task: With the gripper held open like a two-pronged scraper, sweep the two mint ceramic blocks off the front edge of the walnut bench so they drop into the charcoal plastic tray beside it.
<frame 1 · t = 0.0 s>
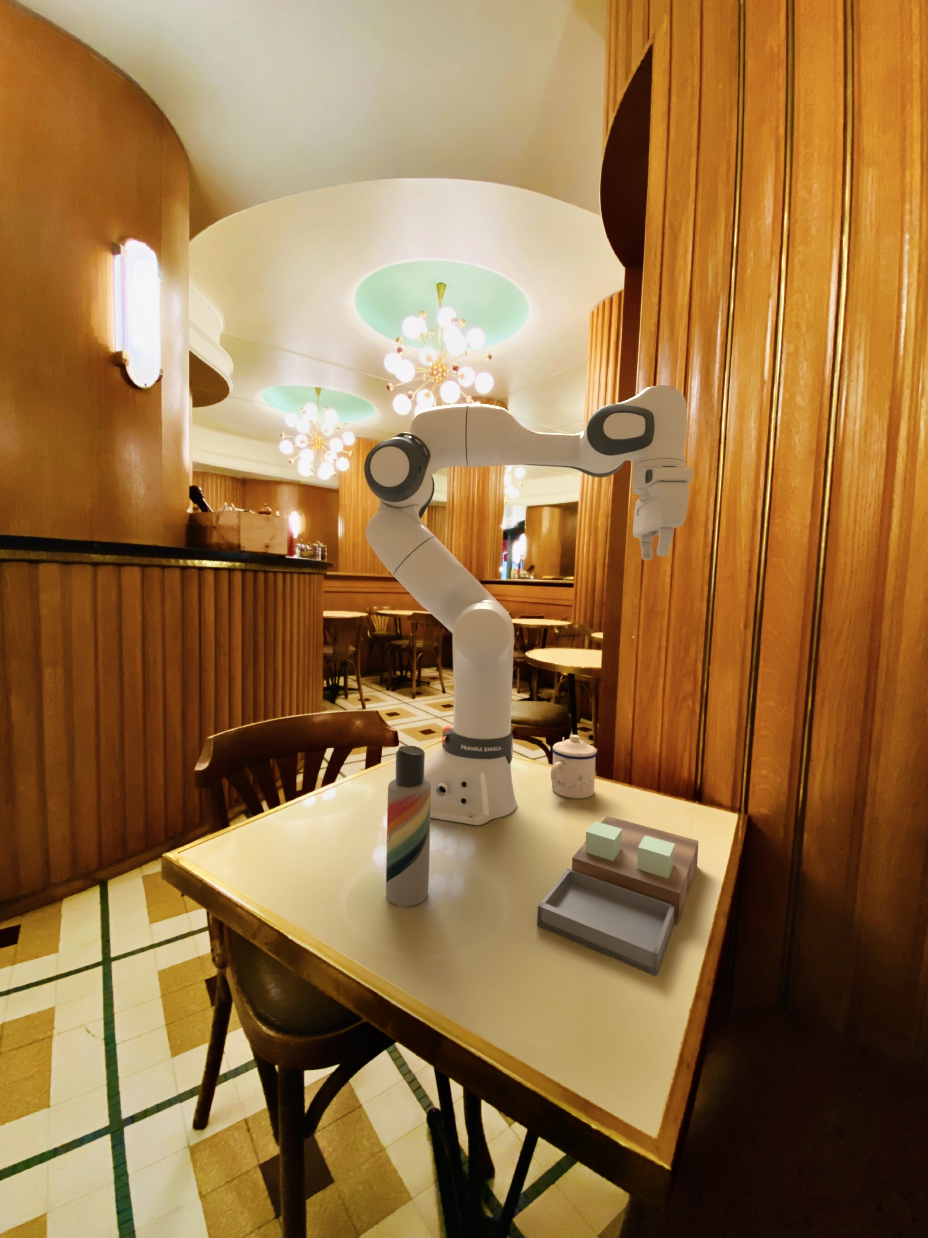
hand: (654, 557, 90), 48 cm above the table, tool pointing down, fingers open, 8 cm apart
mint block a: (655, 867, 67), point 4 cm above the table, touching walnut bench
mint block b: (603, 850, 71), point 4 cm above the table, touching walnut bench
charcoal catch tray: (605, 925, 61), on the table
teacup with lid: (568, 793, 101), on the table
lotion bottle: (407, 895, 66), on the table
walnut bench: (636, 875, 72), on the table
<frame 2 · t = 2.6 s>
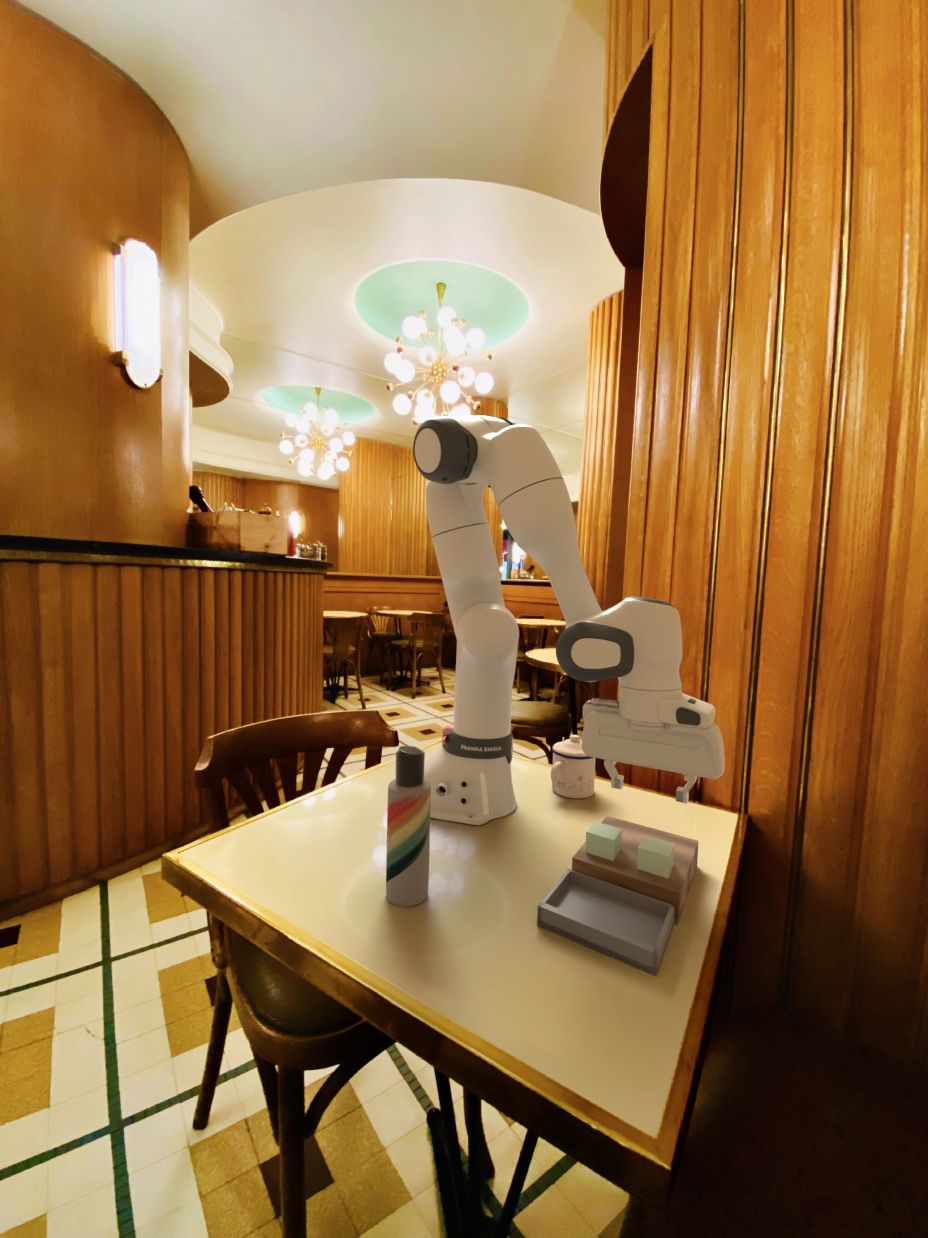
hand: (648, 794, 74), 11 cm above the table, tool pointing down, fingers open, 8 cm apart
nothing on the table moved.
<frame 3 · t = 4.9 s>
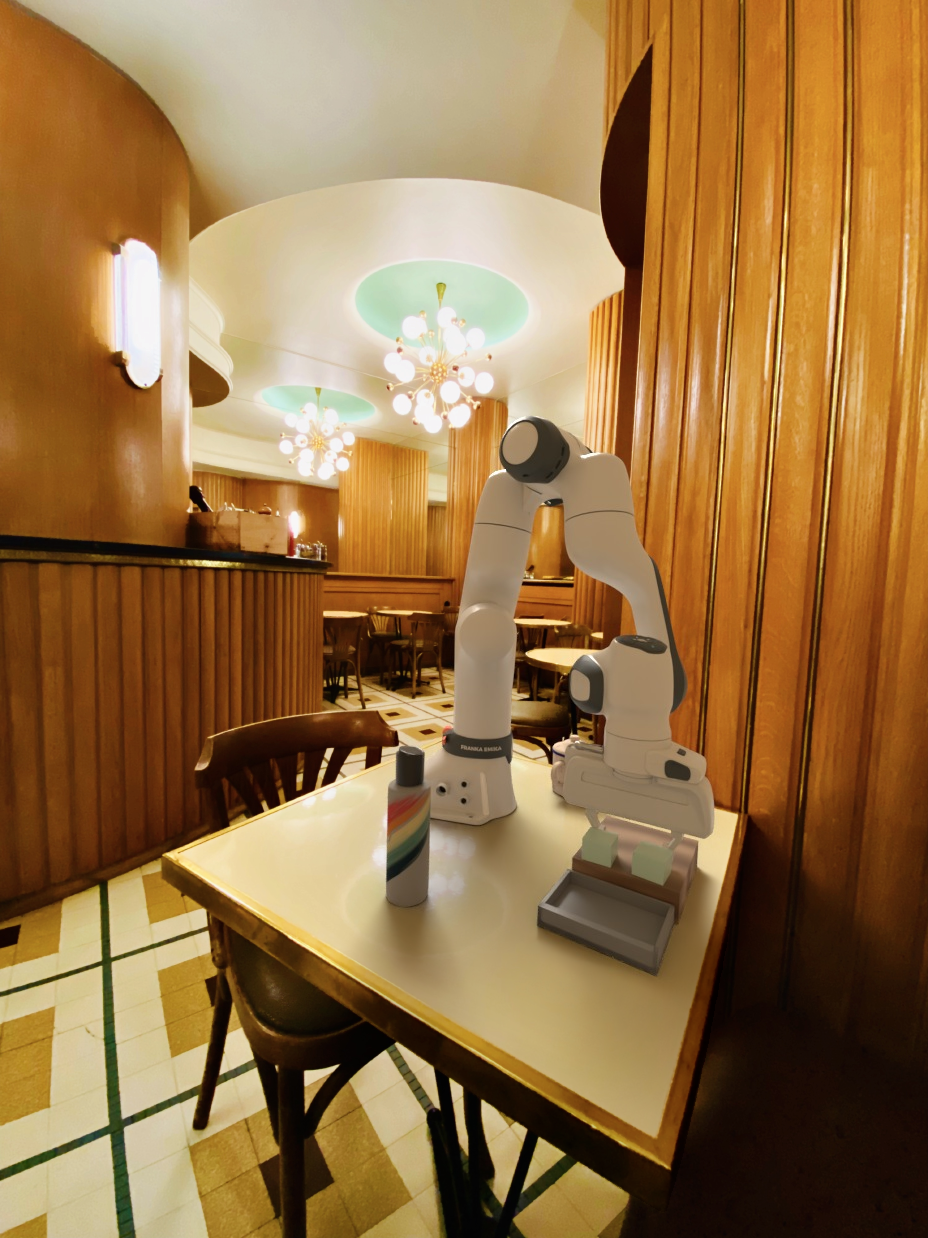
hand: (632, 848, 69), 5 cm above the table, tool pointing down, fingers open, 8 cm apart
mint block a: (651, 873, 65), point 4 cm above the table
mint block b: (599, 857, 69), point 4 cm above the table, touching walnut bench
everything else where it was.
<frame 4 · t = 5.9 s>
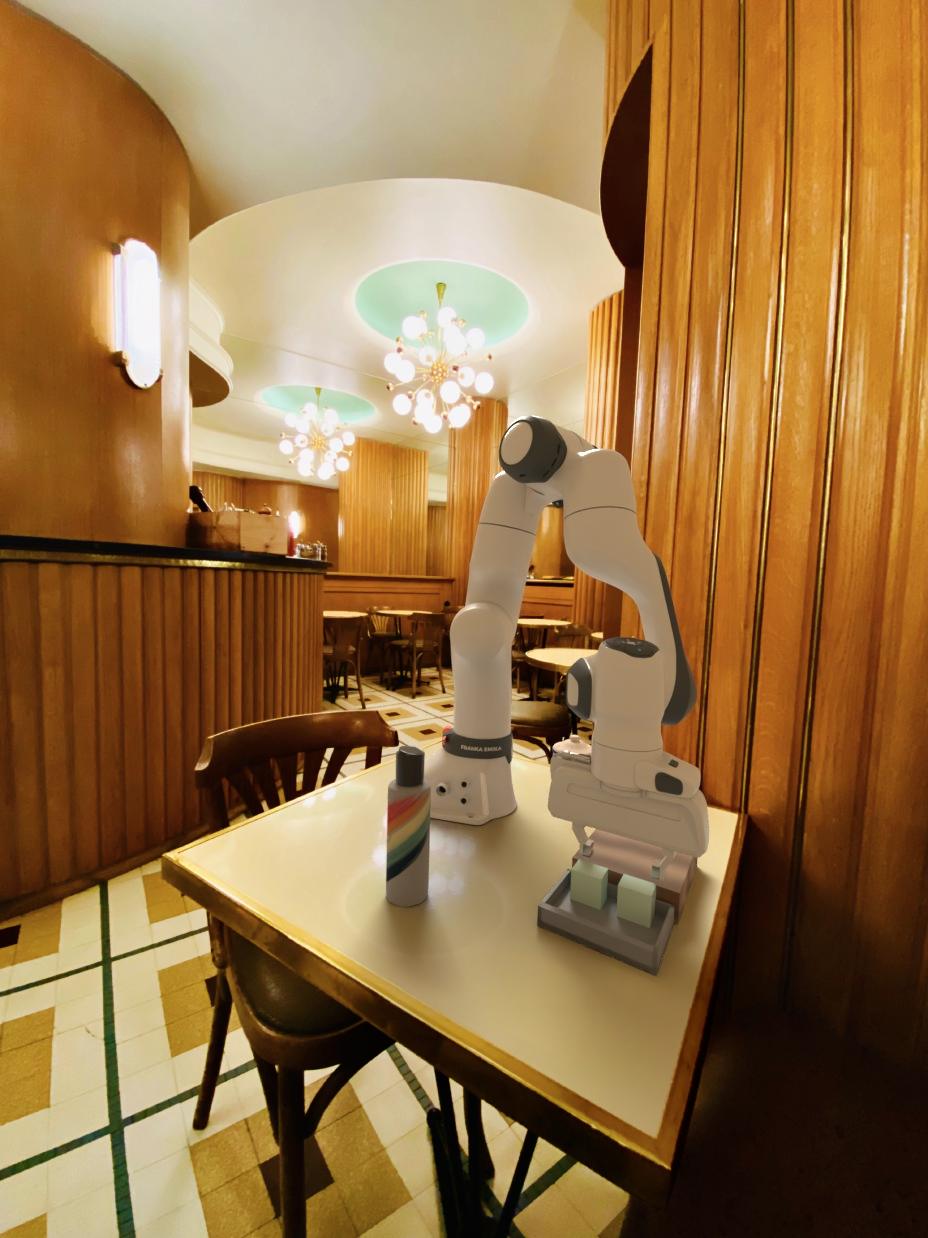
hand: (621, 865, 65), 5 cm above the table, tool pointing down, fingers open, 8 cm apart
mint block a: (639, 894, 63), point 3 cm above the table, tilted 90°, touching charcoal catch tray
mint block b: (592, 878, 66), point 3 cm above the table, tilted 90°, touching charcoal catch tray
everything else where it was.
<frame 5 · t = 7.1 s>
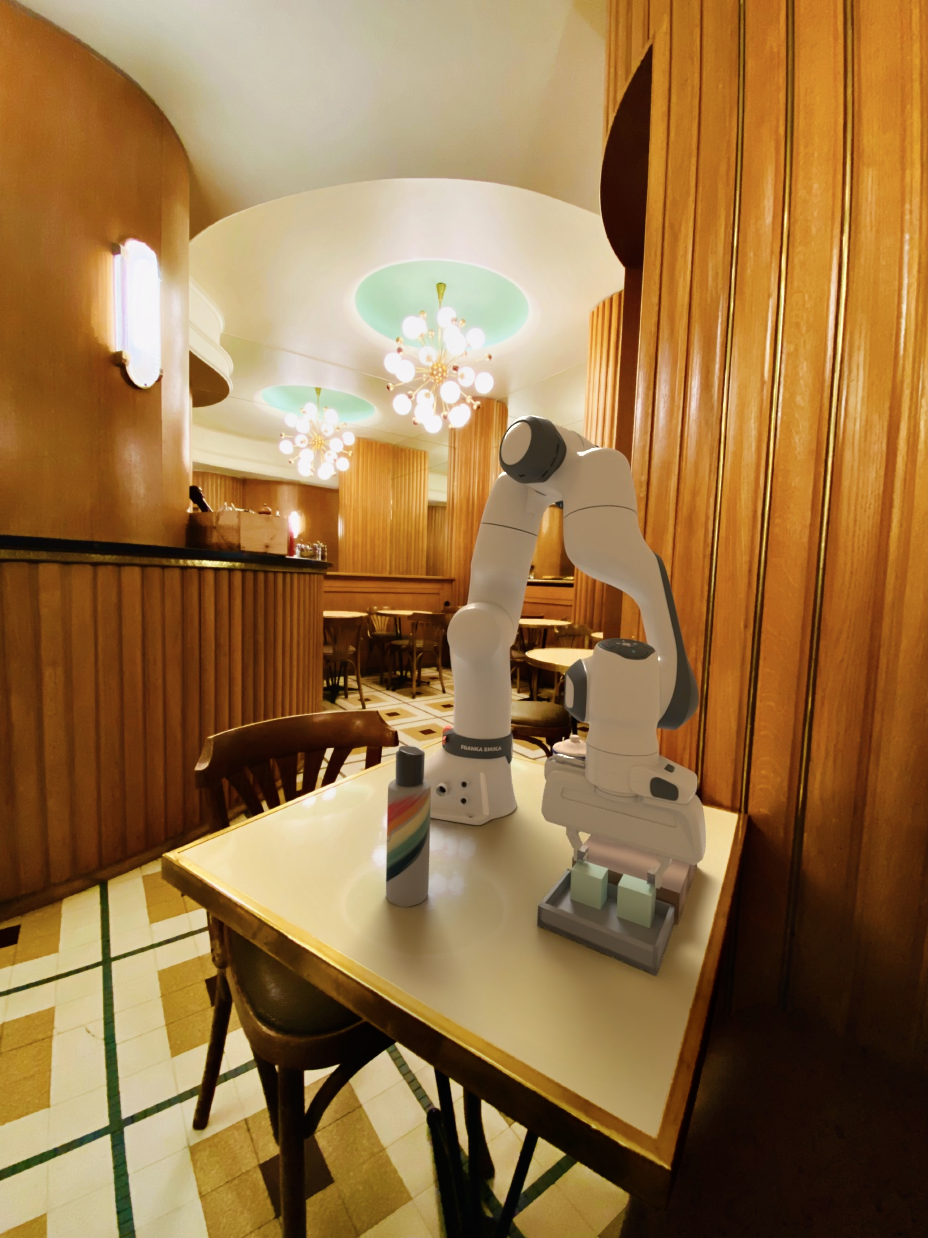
hand: (615, 872, 63), 5 cm above the table, tool pointing down, fingers open, 8 cm apart
nothing on the table moved.
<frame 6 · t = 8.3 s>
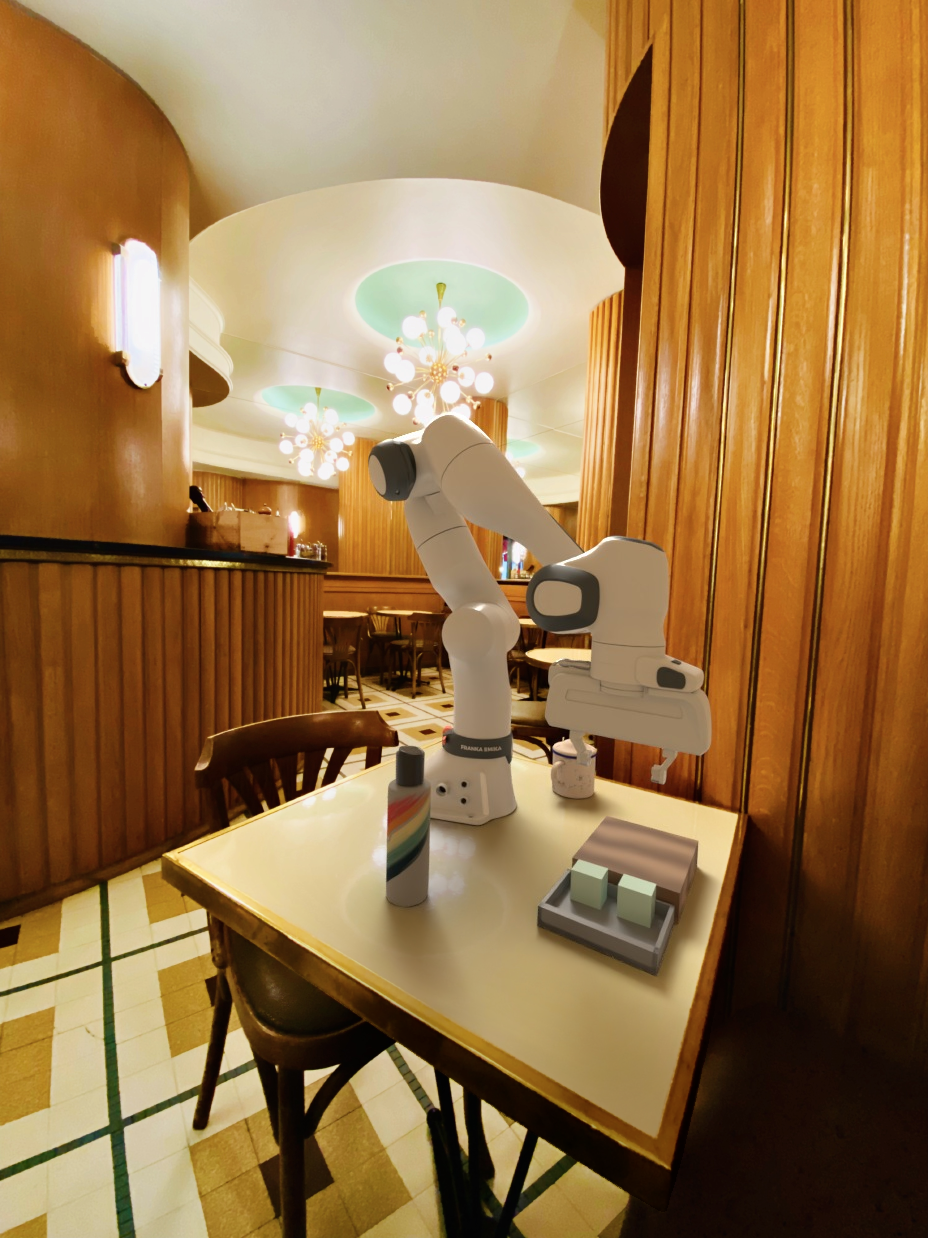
hand: (619, 772, 63), 18 cm above the table, tool pointing down, fingers open, 8 cm apart
nothing on the table moved.
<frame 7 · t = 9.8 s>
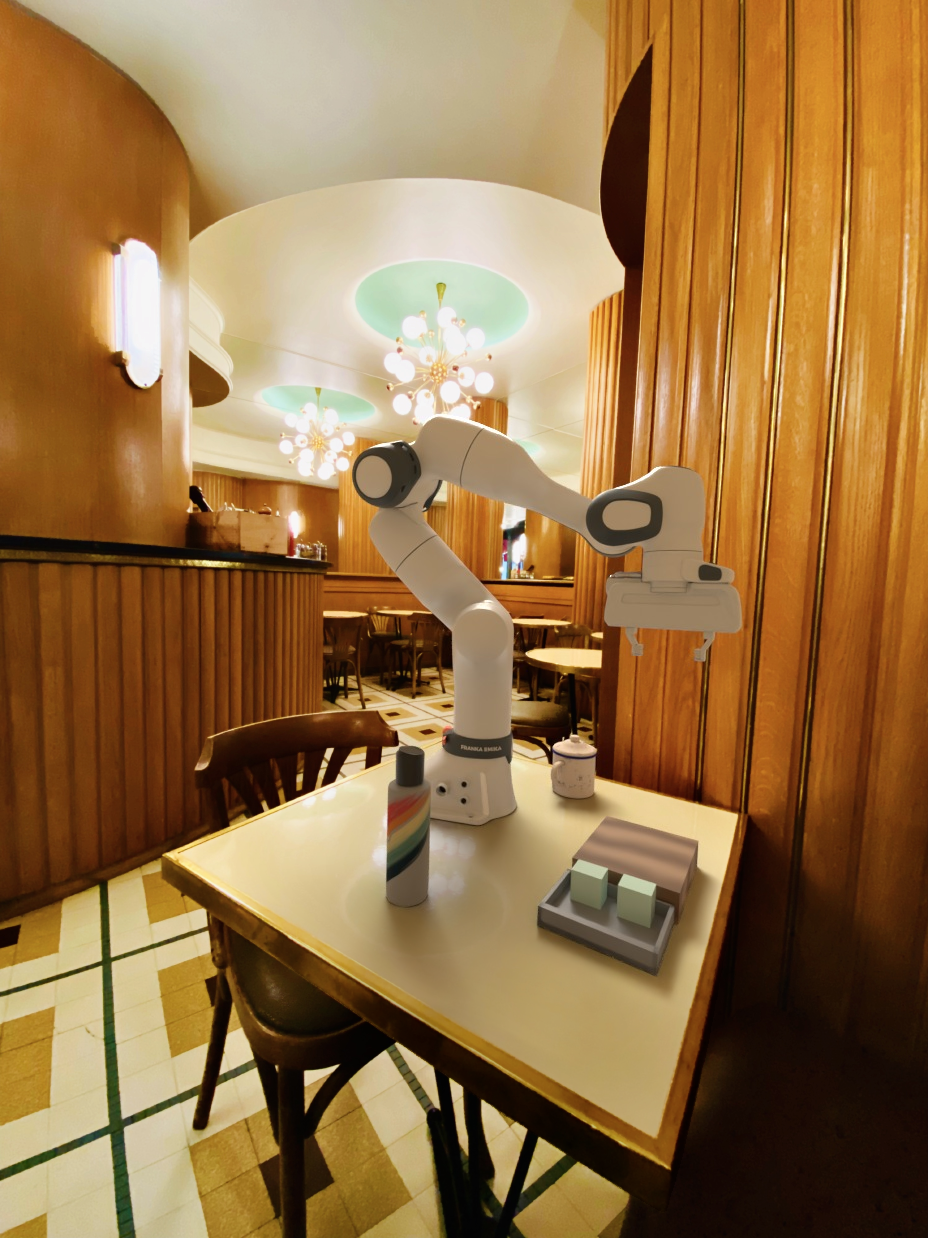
hand: (667, 657, 79), 31 cm above the table, tool pointing down, fingers open, 8 cm apart
nothing on the table moved.
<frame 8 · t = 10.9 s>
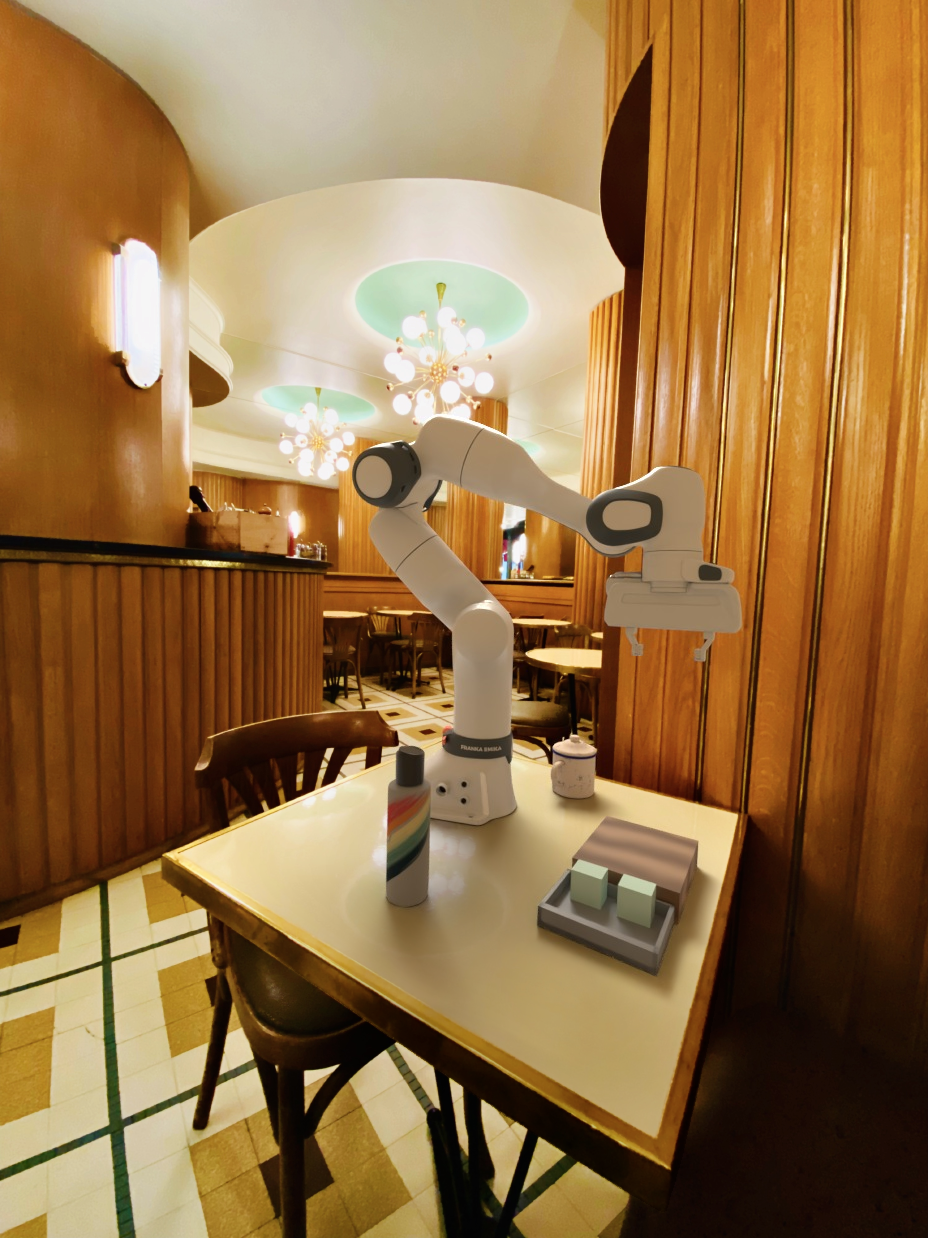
hand: (667, 657, 79), 31 cm above the table, tool pointing down, fingers open, 8 cm apart
nothing on the table moved.
at the end: mint block a inside the target area on the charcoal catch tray (5.1 cm from its centre), point 2.8 cm above the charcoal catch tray's base; mint block b inside the target area on the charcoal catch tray (5.4 cm from its centre), point 2.8 cm above the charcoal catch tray's base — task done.
